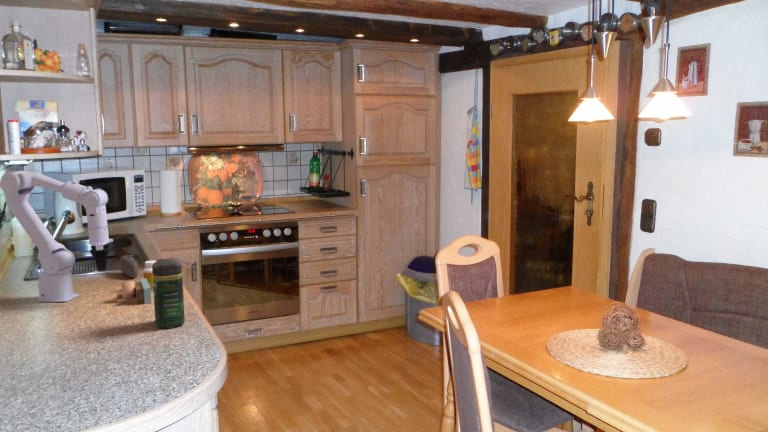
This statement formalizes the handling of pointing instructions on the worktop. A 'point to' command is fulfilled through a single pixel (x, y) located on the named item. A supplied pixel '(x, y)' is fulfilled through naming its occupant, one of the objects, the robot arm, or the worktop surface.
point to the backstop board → (146, 291)
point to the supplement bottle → (149, 273)
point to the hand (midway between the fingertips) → (102, 268)
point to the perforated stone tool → (128, 266)
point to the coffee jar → (168, 293)
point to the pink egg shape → (128, 289)
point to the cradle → (138, 298)
